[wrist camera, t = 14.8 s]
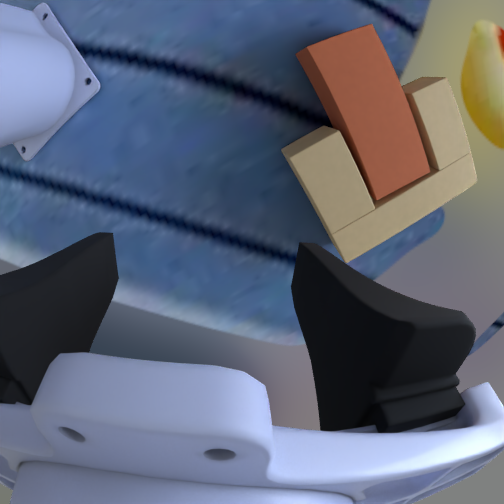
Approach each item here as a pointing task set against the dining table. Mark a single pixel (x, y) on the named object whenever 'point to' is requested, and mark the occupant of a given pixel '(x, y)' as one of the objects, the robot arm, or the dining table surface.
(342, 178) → the u-shaped block
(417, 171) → the reddish-brown rectangular block
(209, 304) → the dining table surface
